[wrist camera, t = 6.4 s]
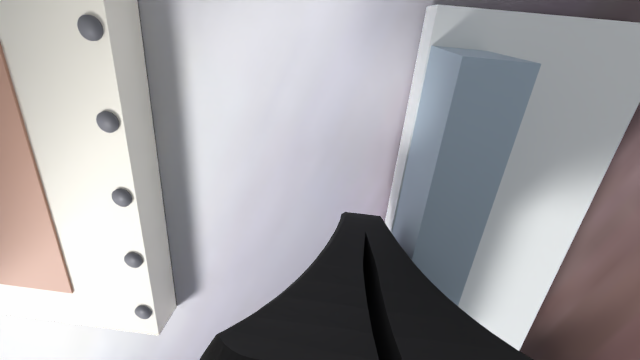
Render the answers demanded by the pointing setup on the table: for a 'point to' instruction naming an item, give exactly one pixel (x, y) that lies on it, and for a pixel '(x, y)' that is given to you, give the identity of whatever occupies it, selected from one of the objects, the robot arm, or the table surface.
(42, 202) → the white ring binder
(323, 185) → the table surface
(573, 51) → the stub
